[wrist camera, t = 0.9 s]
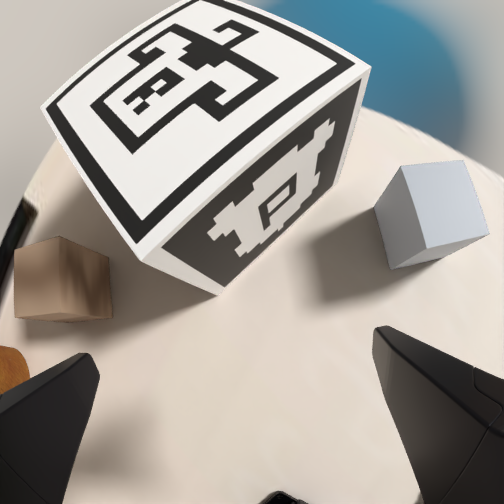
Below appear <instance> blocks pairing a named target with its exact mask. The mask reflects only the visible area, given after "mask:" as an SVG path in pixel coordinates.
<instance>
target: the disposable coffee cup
mask: <svg viewBox="0 0 504 504" xmlns="http://www.w3.org/2000/svg"><path fill="white" fill-rule="evenodd" d="M29 379H30V375H29V370H28V366H27V363H26V361H25V359H24V357H23V356H22V354H21V353H20V352H19V351H18V350H17V349H15V348H11V347H5V346H0V394H3V393H4V392H6V391H8V390H10V389H11V388H13V387H15V386H17V385H19V384H21V383H23V382H25V381H27V380H29Z"/></svg>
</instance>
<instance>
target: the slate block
mask: <svg viewBox="0 0 504 504" xmlns="http://www.w3.org/2000/svg"><path fill="white" fill-rule="evenodd" d="M374 210H375V214H376V217H377V221H378V224H379V228H380V232H381V236H382V239H383V243H384V247H385V251H386V255H387V259H388V264H389V268H390V270H392V269H397V268H401V267H406V266H410V265H414V264H419V263H423V262H427V261H431V260H435V259H439V258H443V257H446V256H448V255H450V254H452V253H454V252H456V251H458V250H460V249H462V248H464V247H466V246H468V245H469V244H471V243H473V242H475V241H477V240H479V239H481V238H483V237H485V236H487V235H488V234H490V233H489V230H488V226H487V223H486V220H485V217H484V214H483V210H482V207H481V205H480V202H479V199H478V196H477V193H476V190H475V188H474V185H473V183H472V180H471V177H470V175H469V172H468V170H467V168H466V165H465V163H464V160H458V161H446V162H435V163H425V164H415V165H406V166H400V168H399V169H398V171H397V172H396V174H395V176H394V177H393V179H392V180H391V182H390V183H389V185H388V186H387V188H386V189H385V191H384V192H383V194H382V195H381V197H380V198H379V200H378V201H377V203H376V204H375V205H374Z"/></svg>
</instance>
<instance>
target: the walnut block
mask: <svg viewBox="0 0 504 504" xmlns="http://www.w3.org/2000/svg"><path fill="white" fill-rule="evenodd" d="M14 311H15V318H22V319H32V320H42V321H54V322H67V323H69V322H79V321H88V320H97V319H106V318H113V314H112V303H111V291H110V276H109V258H108V257H106V256H104V255H101V254H99V253H97V252H94V251H92V250H90V249H87V248H85V247H83V246H81V245H78V244H76V243H74V242H72V241H69V240H67V239H65V238H63V237H60V236H58V237H54V238H51V239H48V240H45V241H41V242H38V243H35V244H32V245H29V246H26V247H23V248H19V249H16V250H15V255H14Z"/></svg>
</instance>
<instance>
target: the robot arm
mask: <svg viewBox="0 0 504 504" xmlns="http://www.w3.org/2000/svg"><path fill="white" fill-rule="evenodd" d="M372 354H373V359H374V363H375V366H376V369H377V373H378V376H379V380H380V383H381V387H382V391H383V394H384V397H385V400H386V403H387V405H388V408H389V410H390V413H391V415H392V417H393V420H394V422H395V425H396V427H397V430H398V432H399V435H400V437H401V440H402V442H403V445H404V448H405V450H406V453H407V455H408V458H409V461H410V463H411V466H412V469H413V471H414V474H415V477H416V480H417V482H418V485H419V488H420V491H421V494H422V497H423V499H424V502H425V504H504V379H501V378H499V377H496V376H494V375H492V374H489V373H487V372H485V371H483V370H481V369H478V368H476V367H473V366H472V365H470V364H468V363H466V362H463V361H461V360H459V359H457V358H455V357H453V356H451V355H449V354H447V353H444V352H442V351H440V350H438V349H436V348H434V347H432V346H430V345H428V344H426V343H423V342H421V341H419V340H417V339H415V338H413V337H411V336H409V335H407V334H405V333H402V332H400V331H398V330H396V329H394V328H392V327H390V326H381V327H377V328H375V329H374V332H373V348H372ZM99 380H100V374H99V371H98V369H97V367H96V365H95V363H94V360H93V358H92V356H91V355H90V354H88V353H78V354H76V355H74V356H72V357H70V358H68V359H66V360H65V361H63V362H61V363H59V364H57V365H55V366H53V367H51V368H49V369H48V370H46V371H44V372H42V373H40V374H38V375H36V376H34V377H32V378H30V379H29V380H27V381H25V382H23V383H21V384H19V385H17V386H15V387H13V388H11V389H10V390H8V391H6V392H4V393H3V394H0V504H62V502H63V499H64V495H65V491H66V488H67V484H68V481H69V478H70V474H71V471H72V468H73V464H74V461H75V458H76V455H77V452H78V449H79V446H80V443H81V440H82V437H83V434H84V431H85V428H86V426H87V423H88V420H89V417H90V414H91V410H92V406H93V402H94V398H95V395H96V391H97V387H98V383H99ZM279 495H282V497H278V496H279ZM264 504H308V503H306V502H304V501H302V500H297V499H295V498H293V497H292V496H290V495H288V494H286V493H285V492H282V491H278V492H276V493H275V494H274V495H273V496H272V497H271V498H269V499H268V500H267V501H266V502H265V503H264Z"/></svg>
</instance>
